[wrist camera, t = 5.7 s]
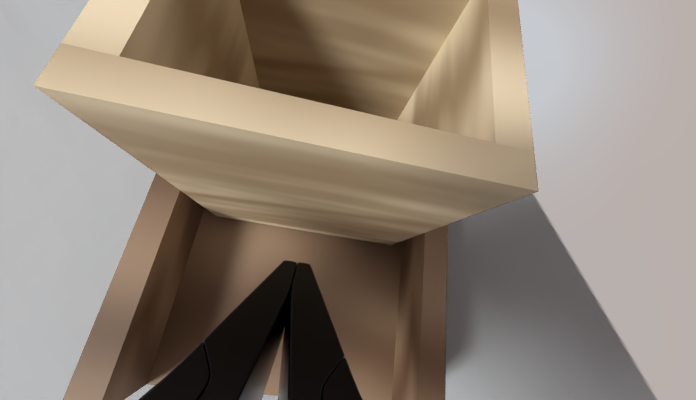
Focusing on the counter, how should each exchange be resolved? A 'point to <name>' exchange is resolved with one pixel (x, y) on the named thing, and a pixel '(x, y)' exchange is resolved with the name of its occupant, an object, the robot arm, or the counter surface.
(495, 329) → the counter surface
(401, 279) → the bay
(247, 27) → the crate
